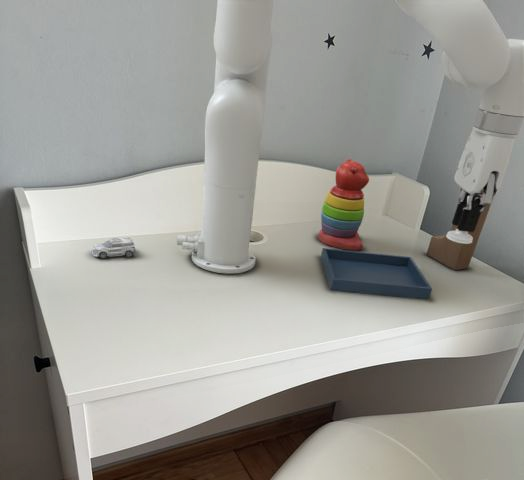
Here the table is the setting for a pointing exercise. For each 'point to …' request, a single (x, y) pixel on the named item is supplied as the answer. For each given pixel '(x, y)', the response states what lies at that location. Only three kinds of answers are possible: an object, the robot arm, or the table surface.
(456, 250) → the wooden block
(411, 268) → the tray
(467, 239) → the chess piece
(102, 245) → the toy car
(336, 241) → the stacking bear
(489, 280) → the table surface
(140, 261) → the table surface
